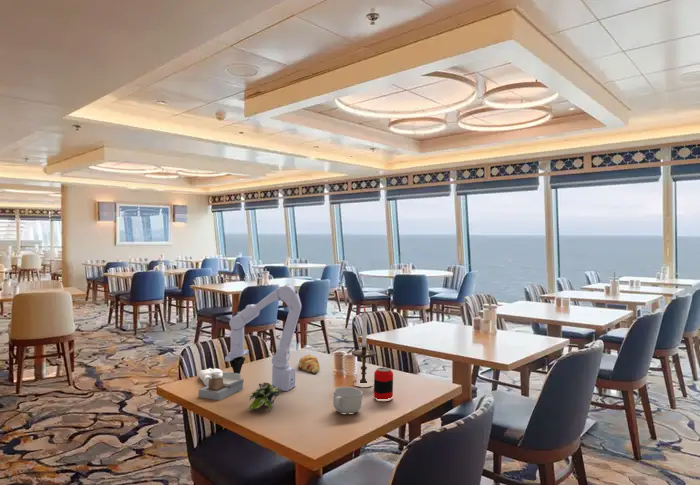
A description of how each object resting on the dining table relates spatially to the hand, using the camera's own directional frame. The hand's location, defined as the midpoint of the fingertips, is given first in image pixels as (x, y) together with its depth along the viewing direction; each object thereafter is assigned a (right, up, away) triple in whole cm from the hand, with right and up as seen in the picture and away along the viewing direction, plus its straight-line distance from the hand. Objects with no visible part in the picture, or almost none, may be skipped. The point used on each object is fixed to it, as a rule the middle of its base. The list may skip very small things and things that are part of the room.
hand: (236, 374), depth 209 cm
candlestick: (+55, -6, +5) cm, 55 cm away
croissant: (+28, -6, +30) cm, 42 cm away
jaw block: (-5, -5, -14) cm, 15 cm away
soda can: (+62, -6, -14) cm, 64 cm away
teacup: (+47, -6, -30) cm, 56 cm away
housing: (-4, -5, -10) cm, 12 cm away
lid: (-3, -2, -7) cm, 7 cm away
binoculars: (-13, -5, +8) cm, 16 cm away
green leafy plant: (+17, -6, -27) cm, 32 cm away
